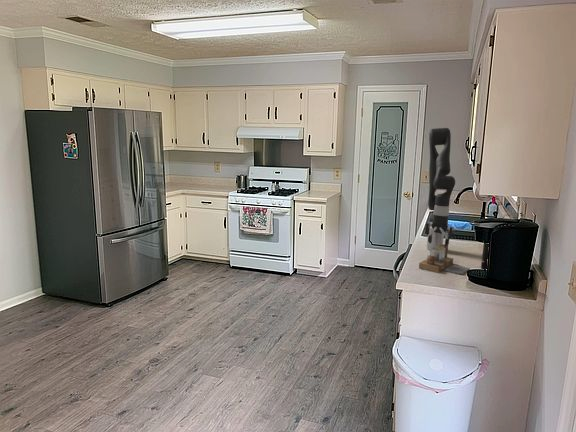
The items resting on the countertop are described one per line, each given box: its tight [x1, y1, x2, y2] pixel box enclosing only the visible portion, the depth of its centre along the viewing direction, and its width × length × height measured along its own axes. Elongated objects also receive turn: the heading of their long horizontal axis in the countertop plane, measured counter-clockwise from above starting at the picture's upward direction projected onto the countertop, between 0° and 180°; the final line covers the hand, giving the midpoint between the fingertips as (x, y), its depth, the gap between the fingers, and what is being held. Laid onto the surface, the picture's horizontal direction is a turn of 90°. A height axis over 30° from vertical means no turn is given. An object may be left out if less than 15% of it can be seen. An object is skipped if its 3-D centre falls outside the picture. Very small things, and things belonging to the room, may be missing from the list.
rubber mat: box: [443, 264, 471, 276], centre depth 222 cm, size 12×9×1 cm
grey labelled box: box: [429, 245, 445, 262], centre depth 228 cm, size 8×5×7 cm, turn 140°
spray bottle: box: [480, 242, 489, 271], centre depth 221 cm, size 10×10×25 cm
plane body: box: [418, 243, 454, 273], centre depth 228 cm, size 22×10×10 cm, turn 140°
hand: (437, 244), depth 226 cm, fingers open, 8 cm apart
